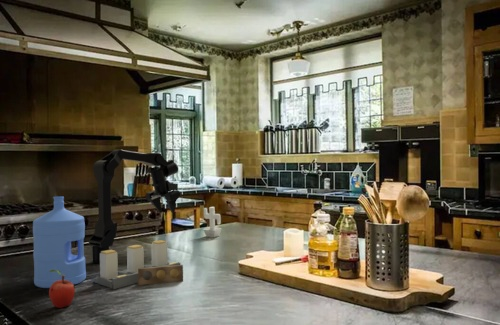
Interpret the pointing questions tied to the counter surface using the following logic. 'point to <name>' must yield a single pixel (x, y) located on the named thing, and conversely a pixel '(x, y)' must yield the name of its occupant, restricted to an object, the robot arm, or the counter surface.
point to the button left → (108, 264)
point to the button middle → (135, 258)
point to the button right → (159, 253)
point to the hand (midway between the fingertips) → (167, 212)
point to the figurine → (212, 222)
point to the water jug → (58, 246)
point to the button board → (124, 278)
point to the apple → (61, 292)
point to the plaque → (160, 274)
